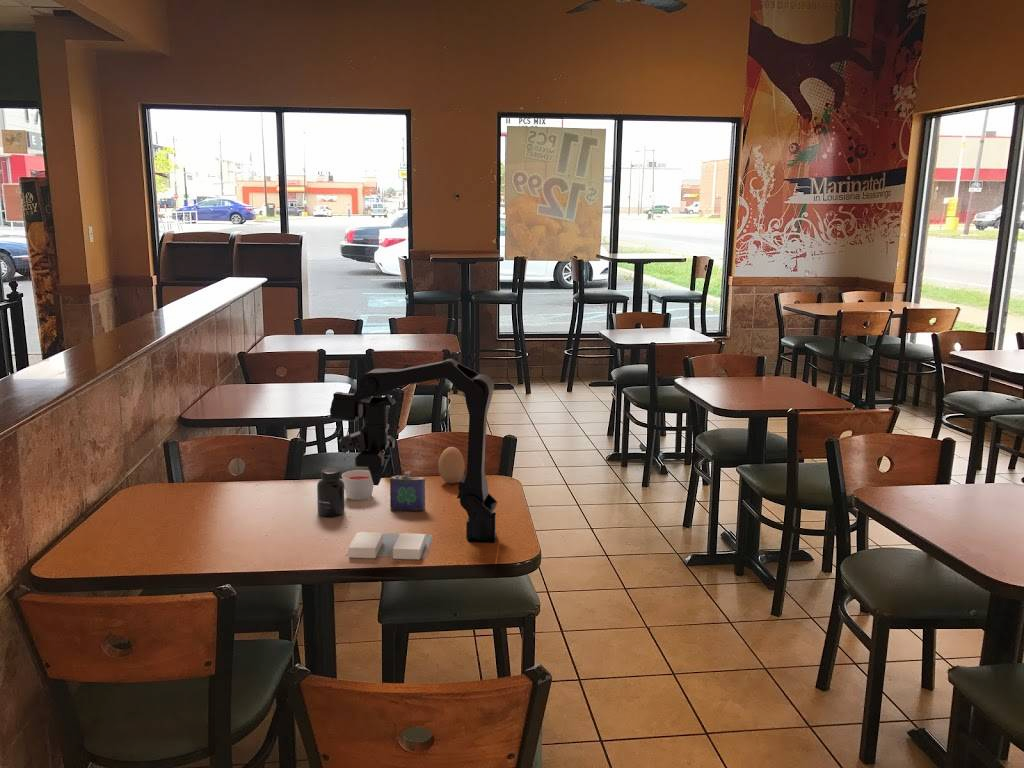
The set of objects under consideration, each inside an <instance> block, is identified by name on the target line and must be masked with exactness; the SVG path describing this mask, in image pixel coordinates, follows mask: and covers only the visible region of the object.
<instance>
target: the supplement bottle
mask: <svg viewBox="0 0 1024 768" xmlns="http://www.w3.org/2000/svg"><path fill="white" fill-rule="evenodd" d="M320 478H321V479H320V480H318V482H317V484H316V488H317V489H316V491H317V492H316V495H317V497H316V498H317V500H316V503H317V505H316V506H317V516H319V517H321V518H325V519H327V518H328V519H333V518H337V517H342V516H343V515H344V514H345V489H344V482H343V479H342V478H341V470H340V469H339V468H335V467H328V468H327V467H326V468H323V469H321V471H320Z"/></svg>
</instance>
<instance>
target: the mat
mask: <svg viewBox="0 0 1024 768" xmlns="http://www.w3.org/2000/svg"><path fill="white" fill-rule="evenodd" d="M399 534H400V533H399ZM399 534H398V533H383V544H382V546H381V548H380V550H379V552H378V554H377V556H376V558H380V557H381V558H393V547H394V545H395V543H396V541H397V539H398V536H399ZM433 536H434V535H432V534H425V546H424V549H423V552H422V555H421V557H420V559H425V558H426V556H427V552H428V550H429V548H430V544H431V543H432V539H433ZM345 557H349V550H348V551H347V553H346V554H345Z"/></svg>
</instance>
